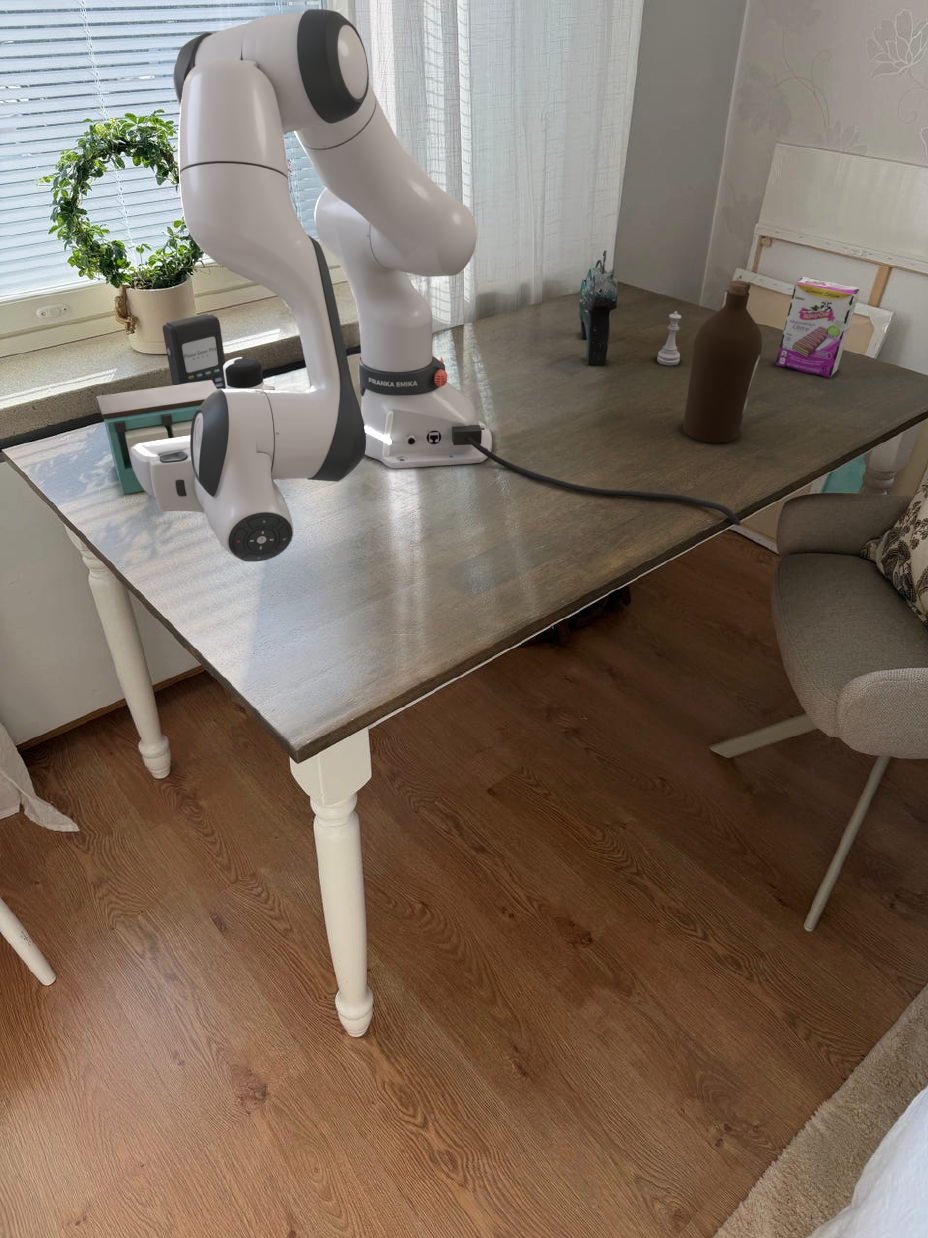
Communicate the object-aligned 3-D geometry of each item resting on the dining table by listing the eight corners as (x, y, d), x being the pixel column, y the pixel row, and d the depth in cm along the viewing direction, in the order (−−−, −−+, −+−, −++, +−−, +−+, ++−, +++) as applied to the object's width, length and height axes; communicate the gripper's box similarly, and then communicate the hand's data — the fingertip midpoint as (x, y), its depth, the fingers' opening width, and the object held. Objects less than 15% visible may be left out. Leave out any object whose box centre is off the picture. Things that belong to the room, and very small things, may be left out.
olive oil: (686, 445, 153) (714, 293, 138) (673, 418, 161) (698, 272, 146) (749, 445, 153) (784, 294, 138) (732, 418, 162) (763, 273, 147)
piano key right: (217, 457, 136) (212, 424, 133) (179, 464, 135) (172, 430, 131) (212, 448, 139) (207, 414, 136) (174, 454, 137) (168, 420, 134)
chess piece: (662, 355, 185) (670, 305, 179) (682, 360, 183) (691, 310, 177) (653, 362, 182) (660, 311, 176) (673, 367, 180) (681, 316, 174)
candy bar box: (774, 366, 182) (794, 281, 172) (781, 358, 186) (801, 275, 176) (831, 379, 177) (854, 293, 168) (838, 371, 181) (861, 286, 171)
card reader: (185, 415, 158) (170, 329, 149) (174, 407, 160) (158, 322, 151) (232, 401, 163) (220, 317, 154) (221, 394, 165) (209, 311, 156)
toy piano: (235, 477, 141) (224, 401, 133) (121, 497, 135) (103, 419, 128) (221, 450, 148) (210, 376, 140) (112, 468, 142) (94, 393, 135)
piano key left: (173, 465, 134) (167, 431, 131) (134, 472, 132) (126, 437, 129) (169, 455, 137) (162, 421, 134) (130, 461, 135) (122, 427, 132)
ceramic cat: (611, 369, 179) (624, 263, 167) (578, 368, 179) (589, 262, 167) (600, 333, 195) (612, 234, 183) (570, 332, 195) (579, 233, 183)
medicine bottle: (279, 425, 156) (272, 356, 148) (258, 443, 150) (250, 372, 143) (242, 418, 157) (233, 350, 150) (220, 435, 152) (210, 365, 145)
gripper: (310, 437, 112) (280, 394, 122) (137, 465, 105) (120, 418, 115) (314, 483, 116) (284, 438, 126) (147, 513, 109) (129, 463, 119)
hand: (204, 429), depth 120 cm, fingers closed
